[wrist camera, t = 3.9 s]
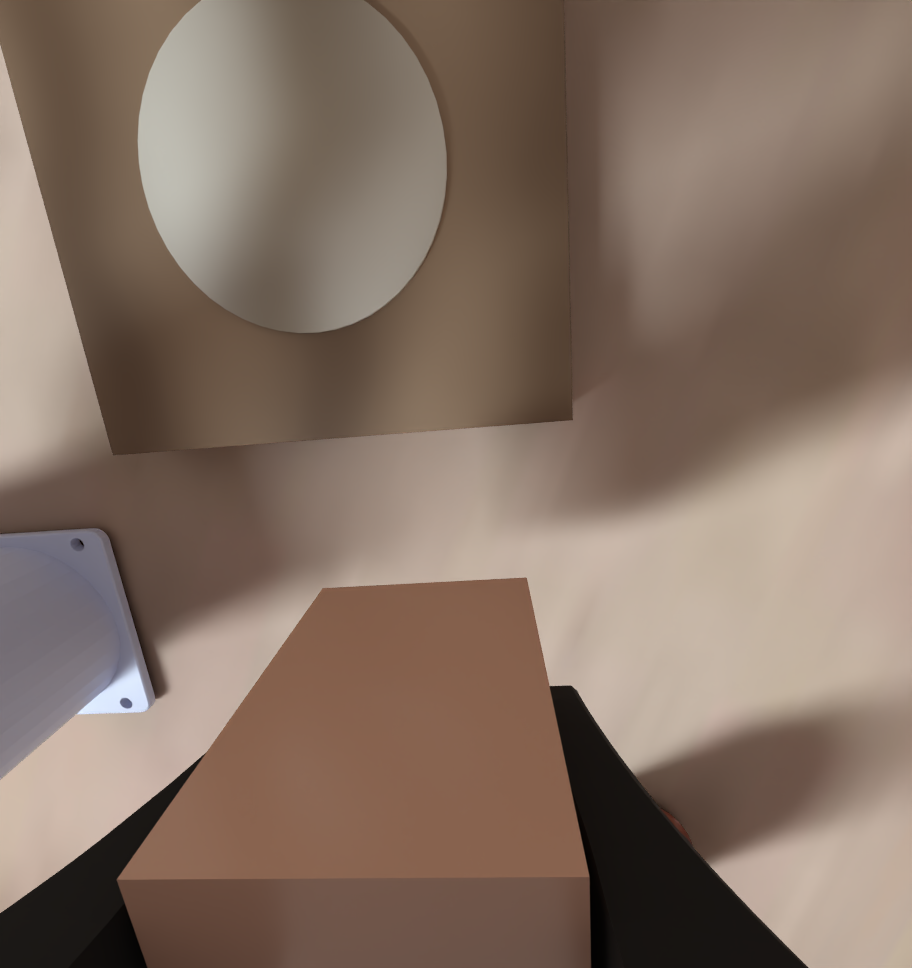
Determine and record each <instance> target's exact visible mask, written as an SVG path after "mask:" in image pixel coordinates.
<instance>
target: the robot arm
mask: <svg viewBox="0 0 912 968" xmlns="http://www.w3.org/2000/svg"><path fill="white" fill-rule="evenodd" d="M79 539H80V540H81V541H82V542H83V544H84V546H83V545H81V543H80V541H79ZM549 687H550V691H551V696H552V701H553V706H554V710H555V715H556V720H557V725H558V729H559V734H560V739H561V744H562V748H563V753H564V758H565V763H566V768H567V772H568V777H569V782H570V787H571V791H572V796H573V801H574V806H575V810H576V815H577V820H578V825H579V829H580V834H581V839H582V844H583V848H584V853H585V858H586V863H587V867H588V872H589V877H590V937H591V968H808V967H807V966H806V965H805V964H804V963H803V962H802V961H801V960H800V959H799V958H798V957H797V956H796V955H795V954H794V953H793V952H792V951H791V950H790V949H789V948H788V947H787V946H786V945H785V944H784V943H783V942H782V941H781V940H780V939H779V938H778V937H777V936H776V935H775V934H774V933H773V932H772V931H771V930H770V929H769V928H768V927H767V926H766V925H765V924H764V923H763V922H762V921H761V920H760V919H759V918H758V917H757V916H756V915H755V914H754V913H753V912H752V911H751V910H750V908H749V907H748V906H747V905H746V904H745V903H744V902H743V901H742V900H741V899H740V898H739V897H738V896H737V895H736V894H735V893H734V892H733V890H732V889H731V888H730V887H729V886H728V885H727V884H726V883H725V882H724V881H723V880H722V879H721V878H720V877H719V876H718V874H717V873H716V872H715V871H714V870H713V869H712V868H711V867H710V866H709V865H708V863H707V862H706V861H705V860H704V859H703V858H702V857H701V856H700V854H699V853H698V852H697V851H696V850H695V849H694V848H693V846H692V845H691V844H690V843H689V842H688V841H687V840H686V838H685V837H684V836H683V835H682V834H681V833H680V831H679V830H678V829H677V828H676V827H675V825H674V824H673V823H672V822H671V821H670V819H669V818H668V817H667V816H666V815H665V814H664V812H663V811H662V810H661V809H660V808H659V806H658V805H657V804H656V803H655V801H654V800H653V799H652V798H651V796H650V795H649V794H648V793H647V791H646V790H645V789H644V787H643V786H642V785H641V784H640V782H639V781H638V780H637V778H636V777H635V776H634V774H633V773H632V772H631V770H630V769H629V768H628V766H627V765H626V764H625V762H624V761H623V760H622V759H621V757H620V756H619V754H618V753H617V752H616V750H615V749H614V748H613V746H612V745H611V743H610V742H609V740H608V739H607V738H606V736H605V735H604V733H603V732H602V730H601V729H600V727H599V726H598V724H597V723H596V721H595V720H594V718H593V717H592V715H591V714H590V712H589V710H588V709H587V707H586V706H585V704H584V702H583V701H582V699H581V697H580V696H579V694H578V692H577V691H576V690H575V689H574V688H573V687H572V686H549ZM129 699H130V700H129ZM154 702H155V695H154V692H153V688H152V685H151V681H150V678H149V674H148V671H147V667H146V664H145V660H144V657H143V654H142V650H141V647H140V643H139V640H138V636H137V633H136V629H135V626H134V623H133V619H132V616H131V612H130V609H129V605H128V602H127V598H126V595H125V591H124V588H123V585H122V581H121V578H120V574H119V571H118V567H117V564H116V560H115V557H114V553H113V550H112V547H111V543H110V540H109V538H108V536H107V534H106V533H105V532H104V531H102V530H100V529H96V528H88V529H73V530H57V531H41V532H26V533H10V534H0V780H1V779H2V778H3V777H4V776H5V775H6V774H8V773H9V772H10V771H11V770H12V769H13V768H15V767H16V766H17V765H18V764H19V763H20V762H21V761H23V760H24V759H25V758H26V757H27V756H28V755H30V754H31V753H32V752H33V751H34V750H35V749H37V748H38V747H39V746H40V745H41V744H42V743H43V742H45V741H46V740H47V739H48V738H49V737H50V736H52V735H53V734H54V733H55V732H56V731H57V730H58V729H60V728H61V727H62V726H63V725H64V724H65V723H67V722H68V721H69V720H70V719H71V718H72V717H74V716H75V715H76V714H100V713H132V712H145V711H147V710H148V709H149V708H150V707H151V706H152V705H153V704H154ZM206 753H207V752H206ZM206 753H205V754H206ZM205 754H204V755H203V756H202V757H201V758H199V759H198V760H197V761H196V762H195V763H194V764H192V765H191V766H190V767H189V768H188V769H187V770H185V771H184V772H183V773H182V774H181V775H180V776H178V777H177V778H176V779H175V780H174V781H173V782H171V783H170V784H169V785H168V786H167V787H165V788H164V789H163V790H162V791H161V792H159V793H158V794H157V795H156V796H154V797H153V798H152V799H151V800H149V801H148V802H147V803H146V804H144V805H143V806H142V807H141V808H140V809H138V810H137V811H136V812H135V813H133V814H132V815H131V816H130V817H128V818H127V819H126V820H125V821H123V822H122V823H121V824H120V825H118V826H117V827H116V828H115V829H114V830H112V831H111V832H110V833H109V834H107V835H106V836H105V837H104V838H102V839H101V840H100V841H99V842H97V843H96V844H95V845H93V846H92V847H91V848H89V849H88V850H87V851H85V852H84V853H83V854H82V855H80V856H79V857H78V858H76V859H75V860H74V861H72V862H71V863H70V864H68V865H67V866H65V867H64V868H63V869H61V870H60V871H59V872H57V873H56V874H55V875H53V876H52V877H50V878H49V879H48V880H46V881H45V882H43V883H42V884H41V885H39V886H38V887H37V888H35V889H34V890H32V891H31V892H30V893H28V894H27V895H25V896H24V897H23V898H21V899H20V900H18V901H17V902H16V903H14V904H13V905H11V906H10V907H9V908H7V909H6V910H4V911H3V912H1V913H0V968H147V965H146V962H145V959H144V956H143V953H142V951H141V948H140V945H139V942H138V939H137V936H136V933H135V931H134V928H133V925H132V922H131V919H130V916H129V914H128V911H127V908H126V905H125V902H124V899H123V896H122V894H121V891H120V888H119V885H118V882H117V878H118V877H119V876H120V874H121V873H122V871H123V870H124V869H125V867H126V866H127V864H128V863H129V862H130V860H131V859H132V857H133V856H134V854H135V853H136V852H137V850H138V849H139V847H140V846H141V845H142V843H143V842H144V840H145V839H146V837H147V836H148V835H149V833H150V832H151V830H152V829H153V828H154V826H155V825H156V823H157V822H158V821H159V819H160V818H161V816H162V815H163V813H164V812H165V811H166V809H167V808H168V806H169V805H170V804H171V802H172V801H173V799H174V798H175V796H176V795H177V794H178V792H179V791H180V789H181V788H182V787H183V785H184V784H185V782H186V781H187V780H188V778H189V777H190V775H191V774H192V772H193V771H194V770H195V768H196V767H197V765H198V764H199V763H200V761H201V760H202V758H203V757H204V756H205Z"/></svg>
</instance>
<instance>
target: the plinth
mask: <svg viewBox="0 0 912 968" xmlns="http://www.w3.org/2000/svg"><path fill="white" fill-rule="evenodd" d="M0 45H1V48H2V52H3V56H4V59H5V63H6V66H7V70H8V74H9V77H10V81H11V85H12V88H13V92H14V96H15V99H16V103H17V107H18V110H19V114H20V118H21V121H22V125H23V128H24V132H25V136H26V139H27V143H28V147H29V150H30V154H31V158H32V161H33V165H34V169H35V172H36V176H37V180H38V183H39V187H40V190H41V194H42V198H43V201H44V205H45V209H46V212H47V216H48V220H49V223H50V227H51V231H52V234H53V238H54V242H55V245H56V249H57V252H58V256H59V260H60V263H61V267H62V271H63V274H64V278H65V282H66V285H67V289H68V293H69V296H70V300H71V304H72V307H73V311H74V314H75V318H76V322H77V325H78V329H79V333H80V336H81V340H82V344H83V347H84V351H85V355H86V358H87V362H88V366H89V369H90V373H91V376H92V380H93V384H94V387H95V391H96V395H97V398H98V402H99V406H100V409H101V413H102V417H103V420H104V424H105V428H106V431H107V435H108V438H109V442H110V446H111V449H112V453H113V455H123V454H136V453H149V452H162V451H175V450H188V449H201V448H214V447H227V446H240V445H253V444H266V443H279V442H292V441H306V440H319V439H332V438H345V437H358V436H371V435H384V434H397V433H410V432H423V431H436V430H449V429H462V428H475V427H488V426H502V425H515V424H528V423H541V422H554V421H567V420H573V414H572V367H571V320H570V273H569V226H568V179H567V133H566V86H565V39H564V0H0Z"/></svg>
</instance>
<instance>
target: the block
mask: <svg viewBox="0 0 912 968" xmlns="http://www.w3.org/2000/svg"><path fill="white" fill-rule="evenodd" d="M117 882H118V885H119V888H120V891H121V894H122V896H123V899H124V902H125V905H126V908H127V911H128V914H129V916H130V919H131V922H132V925H133V928H134V931H135V933H136V936H137V939H138V942H139V945H140V948H141V951H142V953H143V956H144V959H145V962H146V965H147V968H591V937H590V877H589V872H588V867H587V863H586V858H585V853H584V848H583V844H582V839H581V834H580V829H579V825H578V820H577V815H576V810H575V806H574V801H573V796H572V791H571V787H570V782H569V777H568V772H567V768H566V763H565V758H564V753H563V748H562V744H561V739H560V734H559V729H558V725H557V720H556V715H555V710H554V706H553V701H552V696H551V691H550V687H549V682H548V677H547V672H546V668H545V663H544V658H543V653H542V649H541V644H540V639H539V634H538V630H537V625H536V620H535V615H534V610H533V606H532V601H531V596H530V591H529V587H528V582H527V578H510V579H491V580H472V581H453V582H434V583H415V584H396V585H377V586H358V587H339V588H323V589H322V590H321V592H320V593H319V594H318V596H317V597H316V599H315V600H314V601H313V603H312V604H311V606H310V607H309V609H308V610H307V611H306V613H305V614H304V616H303V617H302V618H301V620H300V621H299V623H298V624H297V625H296V627H295V628H294V630H293V631H292V633H291V634H290V635H289V637H288V638H287V640H286V641H285V642H284V644H283V645H282V647H281V648H280V650H279V651H278V652H277V654H276V655H275V657H274V658H273V659H272V661H271V662H270V664H269V665H268V666H267V668H266V669H265V671H264V672H263V674H262V675H261V676H260V678H259V679H258V681H257V682H256V683H255V685H254V686H253V688H252V689H251V690H250V692H249V693H248V695H247V696H246V698H245V699H244V700H243V702H242V703H241V705H240V706H239V707H238V709H237V710H236V712H235V713H234V715H233V716H232V717H231V719H230V720H229V722H228V723H227V724H226V726H225V727H224V729H223V730H222V731H221V733H220V734H219V736H218V737H217V739H216V740H215V741H214V743H213V744H212V746H211V747H210V748H209V750H208V751H207V753H206V754H205V756H204V757H203V758H202V760H201V761H200V763H199V764H198V765H197V767H196V768H195V770H194V771H193V772H192V774H191V775H190V777H189V778H188V780H187V781H186V782H185V784H184V785H183V787H182V788H181V789H180V791H179V792H178V794H177V795H176V796H175V798H174V799H173V801H172V802H171V804H170V805H169V806H168V808H167V809H166V811H165V812H164V813H163V815H162V816H161V818H160V819H159V821H158V822H157V823H156V825H155V826H154V828H153V829H152V830H151V832H150V833H149V835H148V836H147V837H146V839H145V840H144V842H143V843H142V845H141V846H140V847H139V849H138V850H137V852H136V853H135V854H134V856H133V857H132V859H131V860H130V862H129V863H128V864H127V866H126V867H125V869H124V870H123V871H122V873H121V874H120V876H119V877H118V878H117Z"/></svg>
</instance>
